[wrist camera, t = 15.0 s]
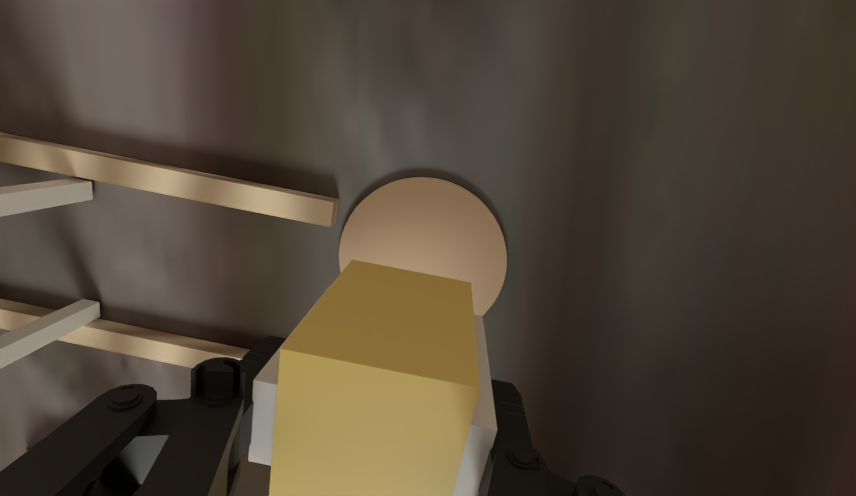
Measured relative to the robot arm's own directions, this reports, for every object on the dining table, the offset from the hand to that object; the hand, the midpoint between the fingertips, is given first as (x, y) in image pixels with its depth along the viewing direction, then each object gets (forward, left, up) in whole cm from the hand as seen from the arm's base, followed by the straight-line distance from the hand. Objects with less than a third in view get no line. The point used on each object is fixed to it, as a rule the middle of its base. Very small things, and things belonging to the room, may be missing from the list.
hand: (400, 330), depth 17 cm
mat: (0, 0, -10) cm, 10 cm away
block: (0, 0, 0) cm, 0 cm away
